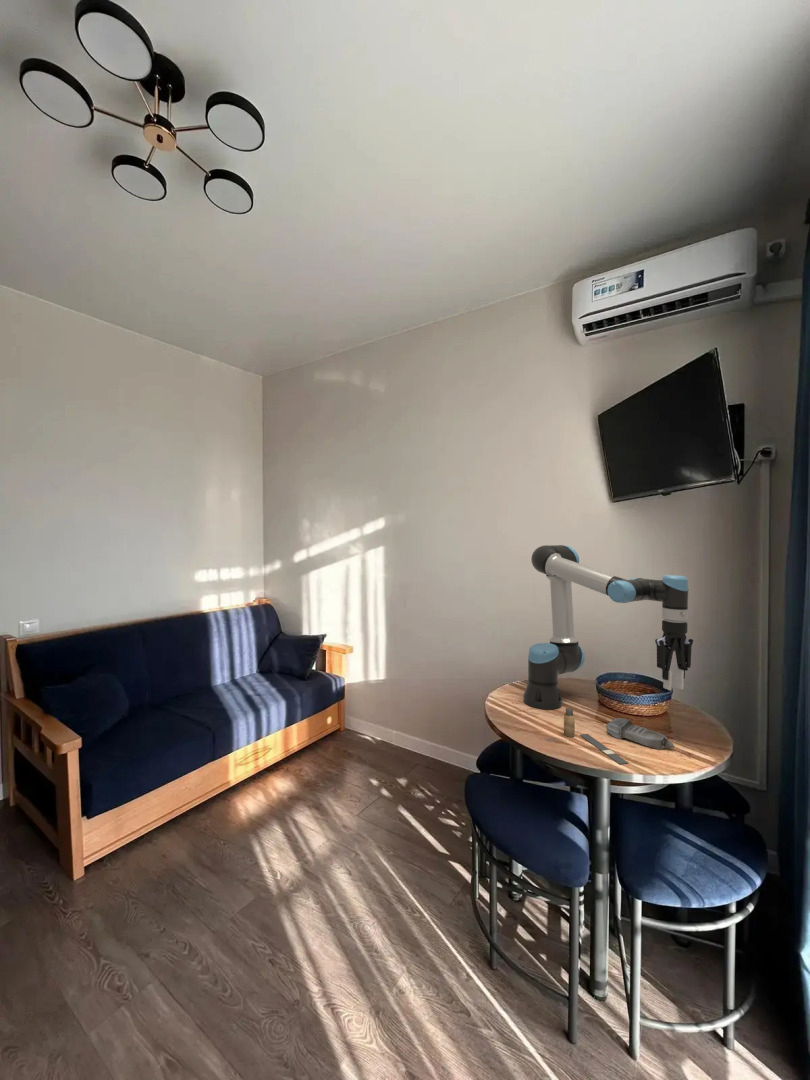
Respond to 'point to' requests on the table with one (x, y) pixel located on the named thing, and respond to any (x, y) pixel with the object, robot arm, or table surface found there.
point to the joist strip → (604, 749)
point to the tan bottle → (569, 723)
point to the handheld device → (637, 734)
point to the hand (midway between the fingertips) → (673, 688)
